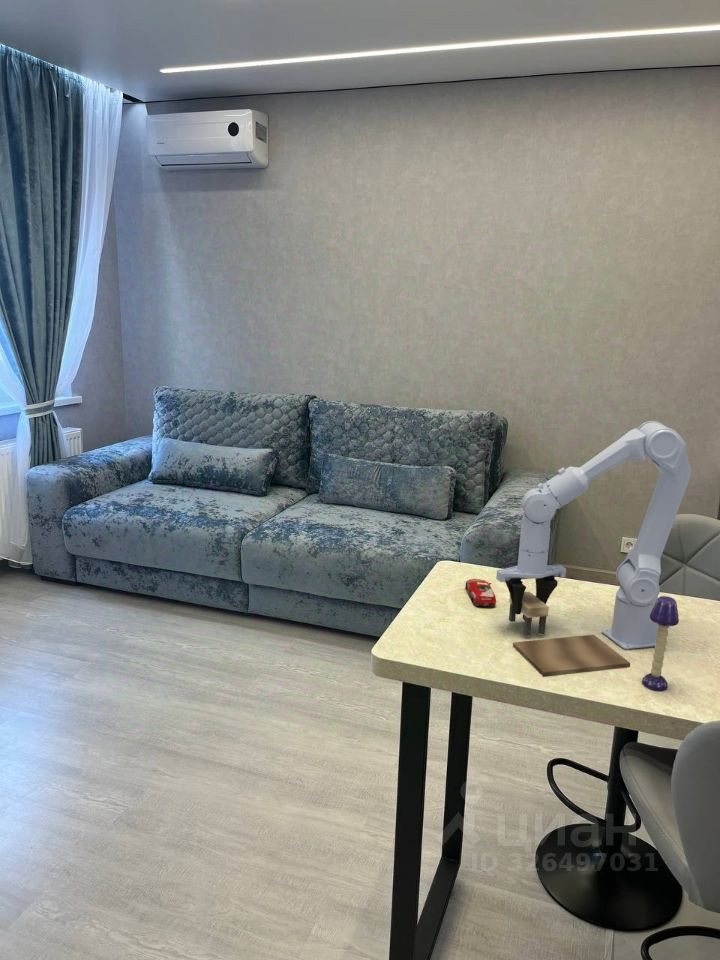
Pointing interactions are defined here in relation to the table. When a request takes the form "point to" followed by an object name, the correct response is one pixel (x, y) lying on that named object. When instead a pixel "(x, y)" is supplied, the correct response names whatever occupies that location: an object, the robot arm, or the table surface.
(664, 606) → the toy lamp
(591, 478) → the robot arm
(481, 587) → the race car
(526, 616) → the oak stool
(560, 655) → the walnut board
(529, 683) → the table surface
